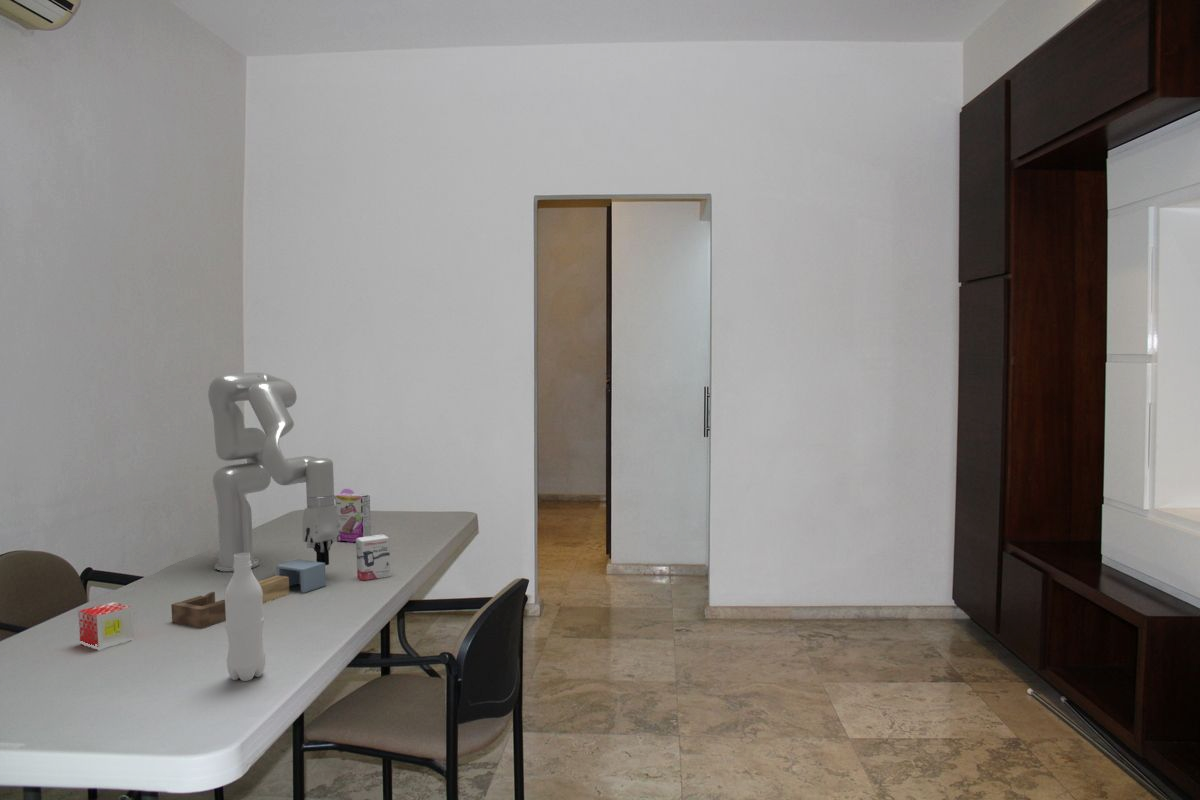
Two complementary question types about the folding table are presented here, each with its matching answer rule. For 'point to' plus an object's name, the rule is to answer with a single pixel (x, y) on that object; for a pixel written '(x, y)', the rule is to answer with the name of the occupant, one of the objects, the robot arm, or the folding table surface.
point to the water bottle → (244, 621)
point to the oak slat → (274, 587)
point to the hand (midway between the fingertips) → (322, 564)
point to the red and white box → (106, 624)
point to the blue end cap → (304, 574)
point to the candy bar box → (353, 516)
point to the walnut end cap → (199, 611)
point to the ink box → (373, 557)
